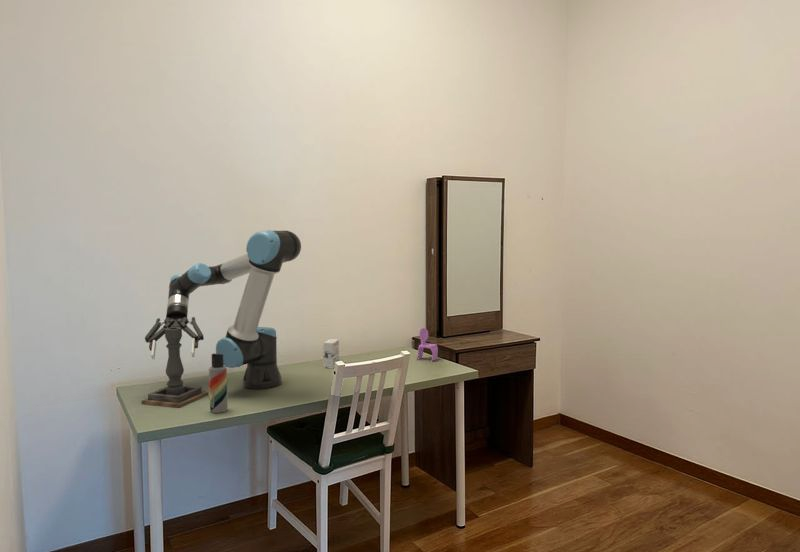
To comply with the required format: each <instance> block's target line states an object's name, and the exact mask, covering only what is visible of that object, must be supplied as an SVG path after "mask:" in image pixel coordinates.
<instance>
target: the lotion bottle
mask: <svg viewBox="0 0 800 552" xmlns="http://www.w3.org/2000/svg"><path fill="white" fill-rule="evenodd" d="M227 368H228V367H226V366H224V361H223V354H216V353H212V354H211V366H210V367H209V368H208V377H209V378H208V380H209V382H208V383H209V409H210V413H213V414H223V413H225V412H227V411H228V408H229V407H228V373H227V372H228V371H227V370H228V369H227Z"/></svg>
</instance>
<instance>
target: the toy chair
mask: <svg viewBox="0 0 800 552" xmlns="http://www.w3.org/2000/svg"><path fill="white" fill-rule="evenodd" d="M418 336H419V338H420V344H419V345H418V348H417V352H418V353H417V356H416V359H418V358H420V357H422V356H423V357H424V350H425V348H426V349H430V350H431V353H432V355H431V356H432V358H431V360H430V362H431V361H433V360H435V359H437V360H438V354H439V346H438V344H437V343H428V342H427V339H428V338H429V331H428V329H427V328H424V327H423V328H422V327H421V328H420V330H419V333H418ZM416 359H415V360H416ZM418 360H419V359H418ZM435 361H436V360H435ZM433 362H434V361H433Z"/></svg>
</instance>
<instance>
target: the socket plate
mask: <svg viewBox="0 0 800 552" xmlns="http://www.w3.org/2000/svg"><path fill="white" fill-rule="evenodd" d="M167 387H168V386H165V387H163V388H161V389H158V390H156V391H154V392H149V393H147V398H144V399H142V400H141V405H146V404H151V405H150V406H156V405H159V406H158V407H166V406H167V408H178V409H180V408H183V407H185V406H187V405H189V404H191V403H193V402H195V401H197V400H198V401H199V400H200V399H203V398H204V397H207V396H208V395H209V392H208V391H203V389H202V386H201V387H200V386H191V385H189V386H188V385H184V388H185V393H183V394H181V395H179V396H175V395H166V388H167Z"/></svg>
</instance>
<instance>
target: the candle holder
mask: <svg viewBox="0 0 800 552" xmlns="http://www.w3.org/2000/svg"><path fill="white" fill-rule="evenodd" d="M182 337H183V331H182V328H181V327H170V328H165V334H164V338H165V340H166V342H167V344H166V345H165V348H167V350H168V358H167V363H166V368H165V375H166V376H167V377H168V381H167V382H166V387H167V388H166V395H175V396H179V395H181V394H183V393H185V388H184V386H185V385H184V381H183V380H182V375H183V374H184V370H185V369H184V365H183V362H182V358H181V350H180V349H181V347H182V346H183V345H182V343H180V342H181V340H182Z"/></svg>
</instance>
